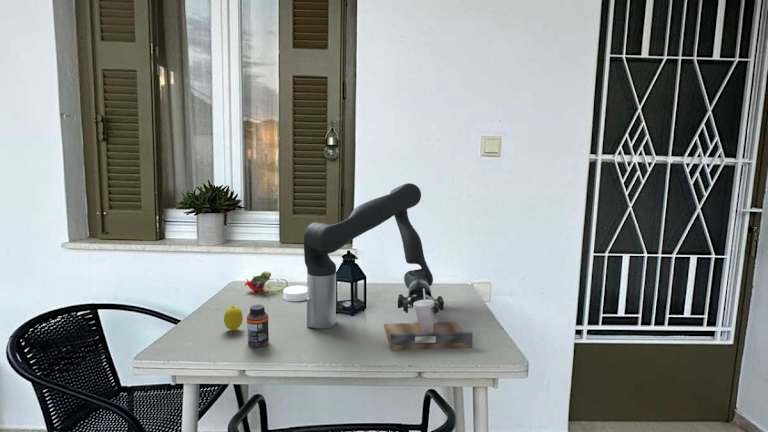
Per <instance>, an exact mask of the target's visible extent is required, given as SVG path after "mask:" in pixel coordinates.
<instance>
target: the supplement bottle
mask: <svg viewBox="0 0 768 432" xmlns="http://www.w3.org/2000/svg"><path fill="white" fill-rule="evenodd" d="M246 329H247V330H246V336H247V337H246V338H247V345H248V346H249V347H250V348H255V349H256V348H261V347H262V348H263V347H264V346H266V345H268V343H269V341H270V340H269V339H270V337H269V334H270V333H269V314H268V312H266V311H265V306H264V305H263V304H260V303H259V304H254V305H250V307H249V313H247V315H246Z"/></svg>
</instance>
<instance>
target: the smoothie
mask: <svg viewBox="0 0 768 432" xmlns="http://www.w3.org/2000/svg"><path fill="white" fill-rule="evenodd" d="M423 296H424V300H418V301H416V302H414V303H413V307H414V310H415V311H414V312H415V314H416V318H417V323H419V327H420V331H421V333H433V323H434V310H433V306H434V301H433V300H429V299H426V297H425V289H424V288H423Z"/></svg>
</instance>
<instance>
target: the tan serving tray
mask: <svg viewBox="0 0 768 432" xmlns="http://www.w3.org/2000/svg"><path fill="white" fill-rule="evenodd" d="M383 329H384V333H385V336H386V340H387V342H388V346H389V349H390V351H411V350H441V349H442V350H447V349H472V348H473V332H472V331H464V330H463V329H462V327H461V326H460V325H459V323H458V322H457V321H449V322H447V321H446V322H445V321H444V322H443V321H441V322H440V321H439V322H436V321H435V322H433V333H421V331H420V327H419V323H418V322H404V323H403V322H401V323H399V322H398V323H383Z"/></svg>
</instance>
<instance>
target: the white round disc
mask: <svg viewBox="0 0 768 432" xmlns="http://www.w3.org/2000/svg"><path fill="white" fill-rule="evenodd" d="M282 295H283V299H284V300H285V301H287V302H295V303H296V302H303V301H307V286H304V285H291V286H288V287H285V288H283V293H282Z"/></svg>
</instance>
